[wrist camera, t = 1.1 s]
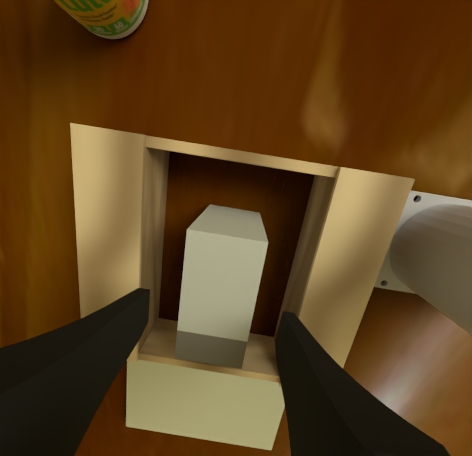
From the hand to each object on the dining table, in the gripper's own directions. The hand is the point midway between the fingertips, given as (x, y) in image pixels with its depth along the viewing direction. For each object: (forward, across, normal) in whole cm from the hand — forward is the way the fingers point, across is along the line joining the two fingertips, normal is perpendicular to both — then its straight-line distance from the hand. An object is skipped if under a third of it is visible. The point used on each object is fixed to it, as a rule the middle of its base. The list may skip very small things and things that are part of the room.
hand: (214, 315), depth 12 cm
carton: (+7, 0, 0) cm, 7 cm away
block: (+7, 0, 0) cm, 7 cm away
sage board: (+7, 0, +15) cm, 17 cm away
